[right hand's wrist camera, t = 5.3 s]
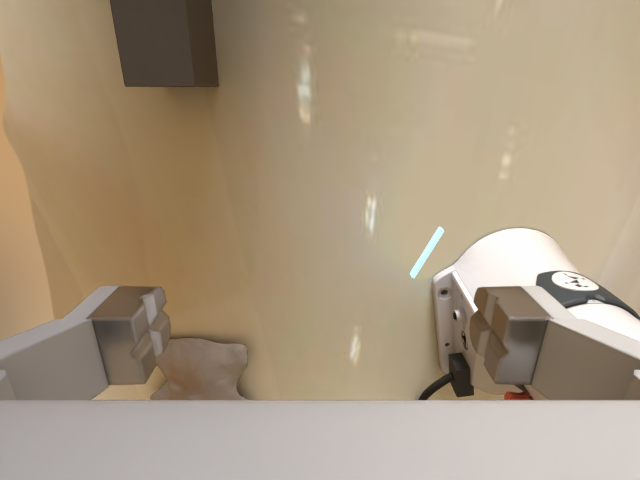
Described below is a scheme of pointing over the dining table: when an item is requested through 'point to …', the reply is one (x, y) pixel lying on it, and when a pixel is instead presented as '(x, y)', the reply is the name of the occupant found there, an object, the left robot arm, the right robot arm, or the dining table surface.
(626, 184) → the dining table surface
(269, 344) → the dining table surface
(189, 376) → the arrowhead
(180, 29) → the bar
